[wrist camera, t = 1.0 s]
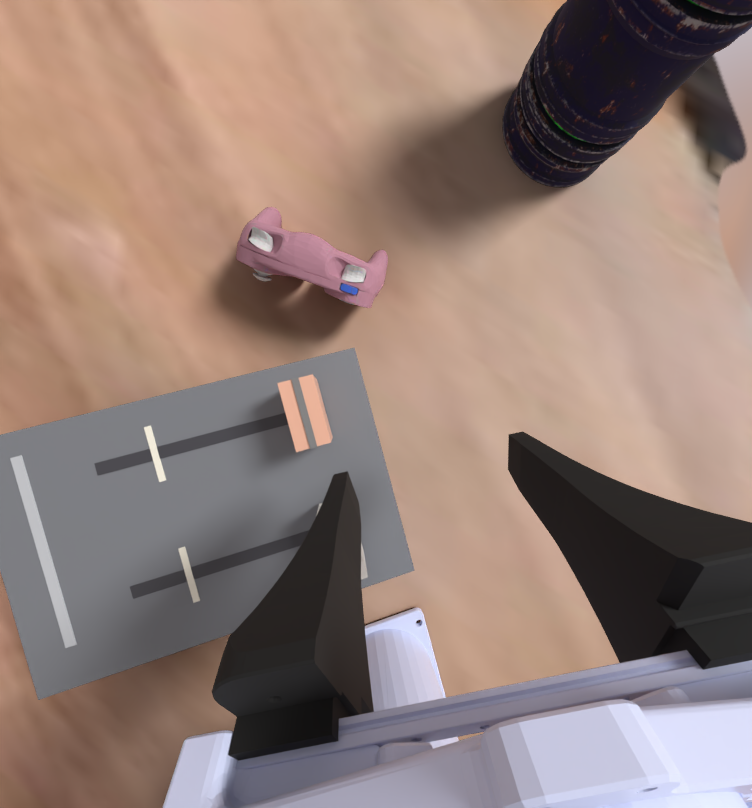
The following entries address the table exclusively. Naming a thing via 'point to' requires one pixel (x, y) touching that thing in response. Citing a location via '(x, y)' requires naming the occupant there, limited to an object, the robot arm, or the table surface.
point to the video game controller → (309, 260)
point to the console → (177, 516)
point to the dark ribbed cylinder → (608, 78)
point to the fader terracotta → (305, 412)
